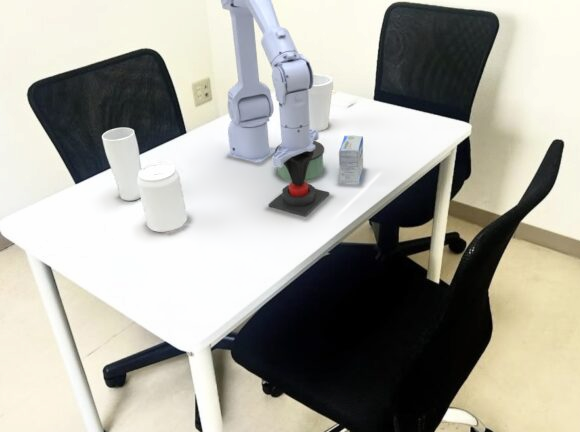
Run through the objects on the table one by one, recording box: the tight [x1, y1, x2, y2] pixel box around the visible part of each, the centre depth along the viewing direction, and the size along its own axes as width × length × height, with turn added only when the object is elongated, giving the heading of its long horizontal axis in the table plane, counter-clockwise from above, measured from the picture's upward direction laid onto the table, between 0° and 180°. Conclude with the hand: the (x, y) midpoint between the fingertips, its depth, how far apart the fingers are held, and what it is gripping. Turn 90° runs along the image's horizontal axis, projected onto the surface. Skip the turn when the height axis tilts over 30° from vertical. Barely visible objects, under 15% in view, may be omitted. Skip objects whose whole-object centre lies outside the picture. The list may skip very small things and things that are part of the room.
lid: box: [274, 140, 325, 161], centre depth 126 cm, size 11×11×4 cm
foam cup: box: [307, 73, 334, 132], centre depth 149 cm, size 10×9×13 cm
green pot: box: [276, 154, 324, 182], centre depth 129 cm, size 10×10×5 cm
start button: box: [288, 181, 309, 196], centre depth 116 cm, size 4×4×2 cm
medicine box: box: [338, 135, 364, 185], centre depth 124 cm, size 8×4×9 cm, turn 168°
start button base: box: [268, 183, 330, 218], centre depth 117 cm, size 9×10×3 cm
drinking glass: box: [101, 127, 142, 202], centre depth 120 cm, size 7×7×15 cm
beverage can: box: [137, 162, 188, 233], centre depth 111 cm, size 8×8×12 cm
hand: (298, 183), depth 116 cm, fingers closed
